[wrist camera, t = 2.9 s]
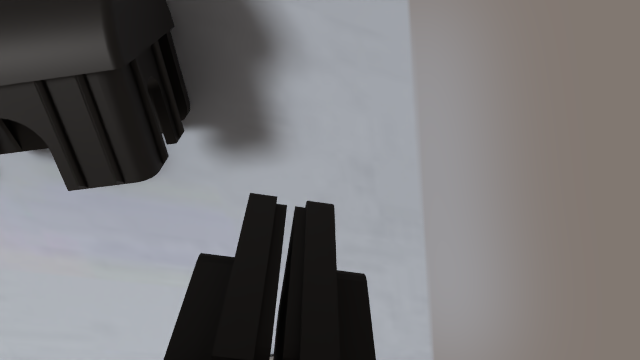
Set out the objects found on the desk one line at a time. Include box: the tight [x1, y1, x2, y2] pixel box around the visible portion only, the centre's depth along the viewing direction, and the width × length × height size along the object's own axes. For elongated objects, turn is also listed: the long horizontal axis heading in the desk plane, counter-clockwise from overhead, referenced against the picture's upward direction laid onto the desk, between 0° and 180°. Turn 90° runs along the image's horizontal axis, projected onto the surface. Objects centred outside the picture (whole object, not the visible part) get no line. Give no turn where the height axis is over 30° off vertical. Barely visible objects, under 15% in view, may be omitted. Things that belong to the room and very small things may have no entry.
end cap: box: [0, 0, 190, 191], centre depth 18 cm, size 10×7×7 cm
